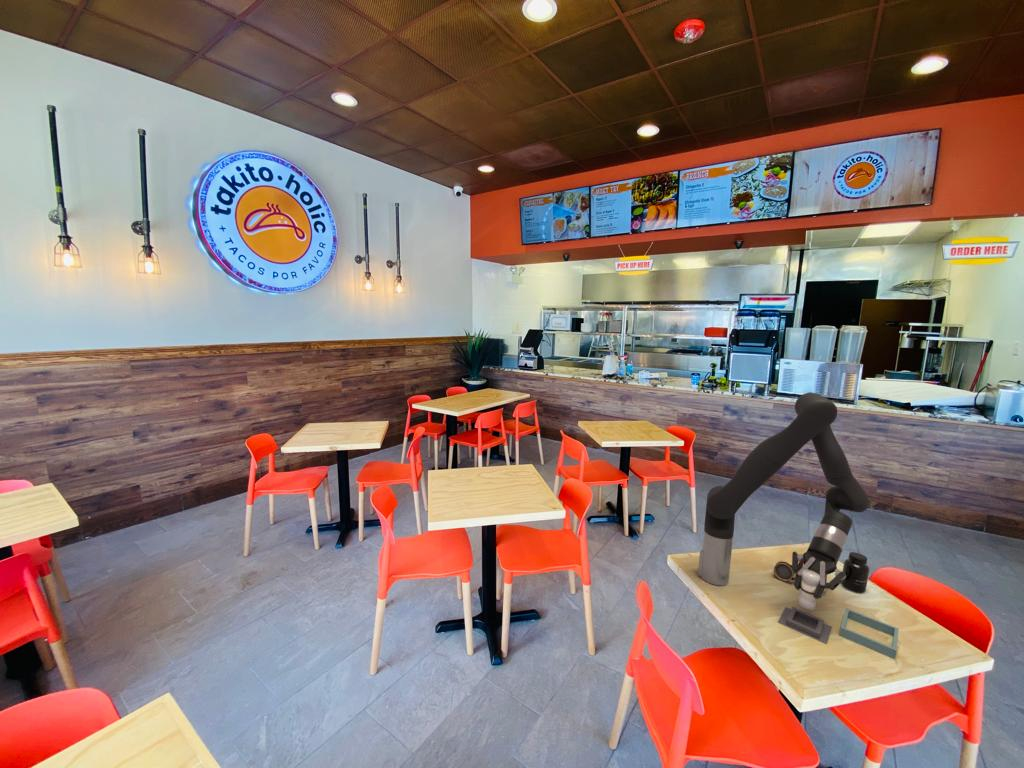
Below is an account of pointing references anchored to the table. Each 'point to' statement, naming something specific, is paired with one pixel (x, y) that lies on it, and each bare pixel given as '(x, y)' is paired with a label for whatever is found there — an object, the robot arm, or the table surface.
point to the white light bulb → (808, 589)
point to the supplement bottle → (856, 572)
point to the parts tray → (865, 640)
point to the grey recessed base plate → (806, 624)
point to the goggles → (787, 571)
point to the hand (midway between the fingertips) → (806, 592)
